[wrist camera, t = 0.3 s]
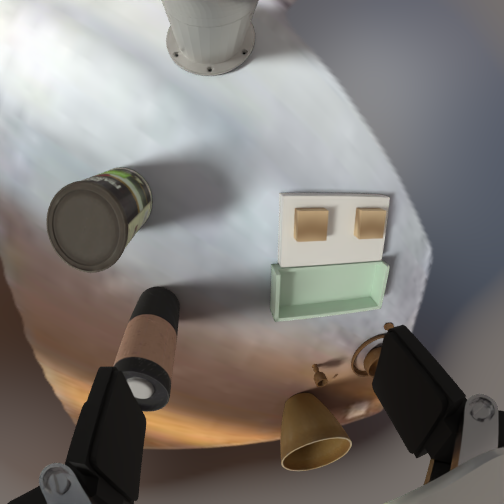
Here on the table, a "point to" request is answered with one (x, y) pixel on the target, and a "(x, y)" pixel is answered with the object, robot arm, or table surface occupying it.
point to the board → (328, 229)
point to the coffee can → (98, 218)
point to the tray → (326, 289)
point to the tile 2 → (369, 223)
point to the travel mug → (150, 348)
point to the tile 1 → (310, 224)
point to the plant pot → (310, 434)
